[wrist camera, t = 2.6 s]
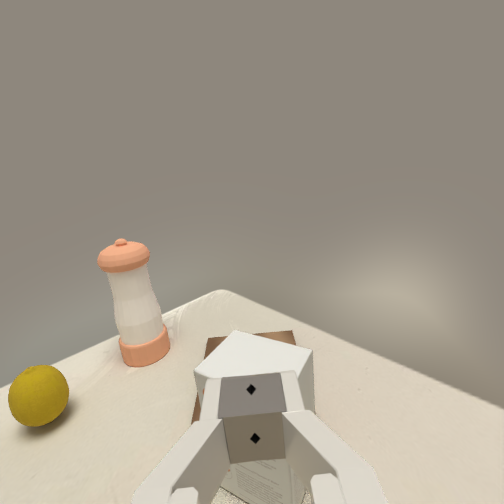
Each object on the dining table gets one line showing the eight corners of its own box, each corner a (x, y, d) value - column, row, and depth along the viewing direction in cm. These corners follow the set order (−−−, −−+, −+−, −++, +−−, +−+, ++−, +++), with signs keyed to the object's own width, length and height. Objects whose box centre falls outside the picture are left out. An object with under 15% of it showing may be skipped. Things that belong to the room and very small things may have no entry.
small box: (317, 459, 27) (315, 348, 23) (293, 533, 22) (285, 406, 18) (246, 427, 31) (234, 327, 27) (212, 483, 26) (190, 370, 22)
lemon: (56, 398, 38) (36, 349, 35) (86, 407, 36) (68, 356, 33) (11, 435, 33) (-15, 381, 30) (43, 448, 31) (18, 391, 28)
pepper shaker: (179, 343, 47) (157, 233, 41) (145, 372, 41) (113, 249, 35) (149, 334, 50) (125, 231, 44) (113, 359, 44) (80, 245, 38)
